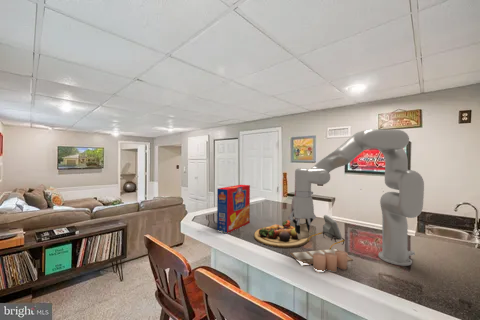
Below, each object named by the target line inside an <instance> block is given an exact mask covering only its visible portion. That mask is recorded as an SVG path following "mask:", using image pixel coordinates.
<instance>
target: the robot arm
mask: <svg viewBox="0 0 480 320" xmlns="http://www.w3.org/2000/svg"><path fill="white" fill-rule="evenodd" d="M409 142H410V136H409V134H408V133H407V132H406V131H404V130H401V129H377V128H376V129H375V128H374V129H370V128H369V129H365V130H361V131H357V132H355V133H354V134H353V135H352V136H350V137H349V138H348V139H346V141H344V142H343V143H342V144H341V145H340V146H339V147H337V148H336V149H335V150H334V151H332V152H331V153H329V154H328V155H326V156H324V157H323V158H322V159H321V160H319V161H318V162H317V163H316V164H314V165H313V166H312V167H311V168H301V167H300V168H296V169H295V170H294V196H292V199H291V204H290V205H291V206H290V214H289V216H288V220H289V221H292V222H293V224H294V227H295V231H296V232H297V233H298V234H300V225H299V224H300V221H301V220H304V221H305V223H304V224H307V229H308V232H309V233H310V229H311V228H310V225H311V223H312V222H313V221H314V220H316V218H317V216H316V214H315V211H314V210H315V208H314V206H315V205H314V201H313V197H312V195H314V192H313V191H312V184H314V185H320V186H321V185H326V184H328V183H329V182H330V180H331V174H330V173H331V172H332V171H333V170H335V169H337V168H338V169H339V168H341V167H344V166H346V165H348V164H350V163H351V162H353V160H355V158H357V157H358V156H359V155H360V154H361V153H363V152H364V151H366V150H367V149H368V150H369V149H375V150H376V149H377V150H378V151H380V153H382V155H383V157H384V164H385V165H384V167H385V168H384V184H385V186H387V188H389V189H392V190H396V191H387V192H385V193H384V194H382V195H381V197H380V200H379V204H380V208H381V209H380V210H381V217H382V219H381V220H382V223H381V224H382V229H381V230H382V232H381V233H382V237H381V238H382V241H381V244H382V246H381V247H382V248H381V250H382V251H379V252H378V255H377V256H378V258H379V259H381V260H382V261H384V262H386V263H388V264H392V265H395V266H403V267H407V266H411V265H412V263H413V261H412V259H411V258H410V256H415V255H416V252H415V251H414V250H408V236H409V235H408V232H409V231H408V230H409V229H408V227H409V225H408V219H409V218H410V219H412V218H413V219H414V218H417V217H418V216H420V215H421V213H422V212H423V208H424V197H425V195H424V194H425V181H424V178H423V176H422V175H421V174H420V173H419V172H418V171H415V170H411V169H408V168H409V164H408V163H409V161H408V155H407V153H406V151H405V150H404V148H405V147H407V146H408V145H409ZM407 218H408V219H407Z"/></svg>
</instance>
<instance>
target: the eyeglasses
mask: <svg viewBox="0 0 480 320" xmlns="http://www.w3.org/2000/svg"><path fill="white" fill-rule="evenodd" d="M325 233H327V232H323V231H321V232H318V233H315V234H312V235H311V236H310V237H308V242H309V241H310V239H311V238H312V237H314V236H318V235H322V234H323V238H324V239H326V237H325ZM328 234H330V233H328ZM331 235H332V234H331ZM332 236H333V235H332ZM337 237H338V236H333V237H331V239H330V241H332V240H333V239H334V242H335V243H333V244H332V245H330V247H329V249H332V247H333V246H334V245H337V244H339V243H342V244H341V245H342V246H343V245H344V244H345V241H346V239H344V238H343V237H340V238H341V239H342V240H340V241H338V242H337V240H336V239H337Z"/></svg>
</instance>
